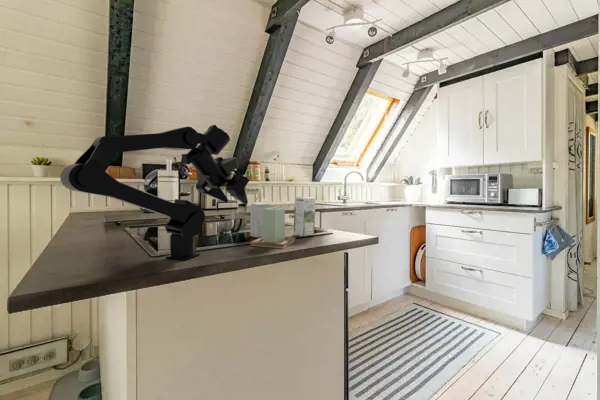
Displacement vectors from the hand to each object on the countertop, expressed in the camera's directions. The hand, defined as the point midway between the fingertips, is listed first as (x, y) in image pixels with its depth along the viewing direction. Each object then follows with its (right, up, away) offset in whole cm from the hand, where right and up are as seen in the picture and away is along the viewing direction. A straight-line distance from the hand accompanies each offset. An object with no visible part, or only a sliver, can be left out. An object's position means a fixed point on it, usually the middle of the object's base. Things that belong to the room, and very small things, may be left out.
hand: (236, 202), depth 94 cm
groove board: (+11, -13, +4) cm, 18 cm away
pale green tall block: (+11, -13, +4) cm, 18 cm away
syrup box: (+22, -13, +19) cm, 31 cm away
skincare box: (+5, -13, +17) cm, 22 cm away
